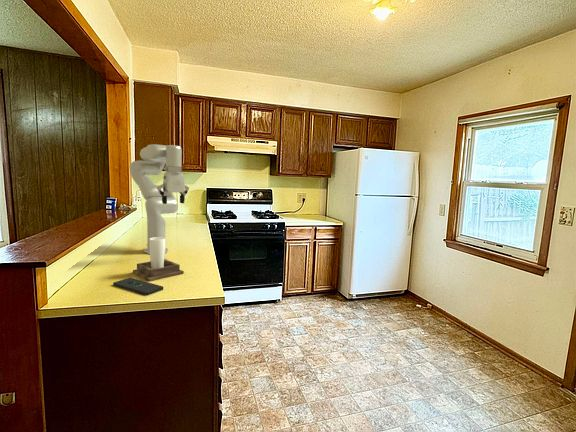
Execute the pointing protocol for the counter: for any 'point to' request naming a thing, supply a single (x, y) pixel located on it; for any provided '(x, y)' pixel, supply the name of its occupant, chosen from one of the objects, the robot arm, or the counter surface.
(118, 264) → the counter surface
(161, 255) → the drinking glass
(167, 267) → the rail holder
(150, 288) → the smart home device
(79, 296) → the counter surface
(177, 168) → the robot arm
